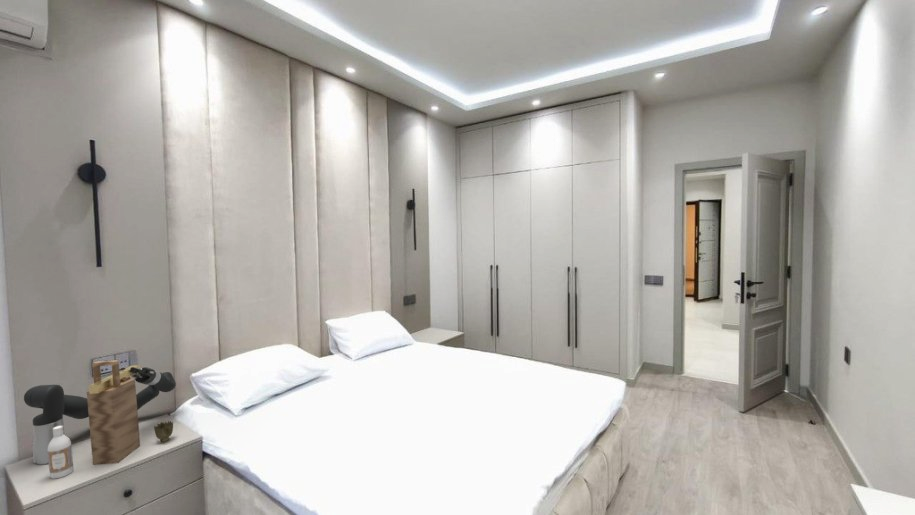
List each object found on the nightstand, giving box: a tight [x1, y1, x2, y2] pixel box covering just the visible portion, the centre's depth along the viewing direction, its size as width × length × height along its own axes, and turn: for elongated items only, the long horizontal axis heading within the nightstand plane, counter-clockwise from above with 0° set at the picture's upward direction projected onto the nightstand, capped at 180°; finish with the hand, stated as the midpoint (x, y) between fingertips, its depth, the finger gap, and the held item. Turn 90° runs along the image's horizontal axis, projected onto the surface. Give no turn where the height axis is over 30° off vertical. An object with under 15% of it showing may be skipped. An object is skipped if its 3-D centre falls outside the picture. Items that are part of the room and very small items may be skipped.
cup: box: [153, 420, 174, 443], centre depth 189 cm, size 8×7×8 cm
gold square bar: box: [88, 364, 141, 394], centre depth 178 cm, size 4×26×4 cm, turn 7°
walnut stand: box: [86, 359, 141, 466], centre depth 176 cm, size 10×14×44 cm
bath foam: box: [48, 426, 74, 480], centre depth 163 cm, size 7×7×20 cm
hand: (126, 369), depth 184 cm, fingers closed on gold square bar, 3 cm apart
